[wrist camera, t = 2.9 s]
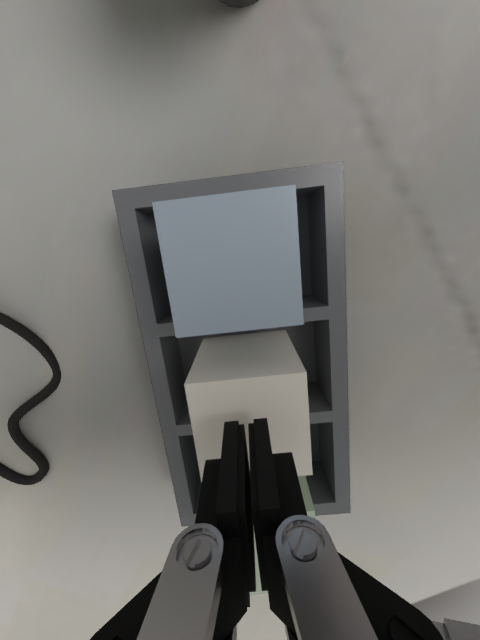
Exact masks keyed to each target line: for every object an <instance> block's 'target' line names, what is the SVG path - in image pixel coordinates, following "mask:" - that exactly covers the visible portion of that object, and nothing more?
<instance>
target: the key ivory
mask: <svg viewBox="0 0 480 640" xmlns="http://www.w3.org/2000/svg"><path fill="white" fill-rule="evenodd" d="M184 387H185V392H186V398H187V404H188V409H189V415H190V420H191V426H192V432H193V437H194V443H195V449H196V454H197V460H198V466H199V471H200V477H201V483H202V477H203V471H204V465H205V461H206V460H210V459H221V451H222V440H223V430H224V422H228V421H238V422H239V424H244V427H245V435H246V443H247V452H248V460H249V468H250V458H249V432H248V423H253V419H260V418H267V422H268V428H269V435H270V442H271V449H272V454H275V453H286V452H292V455H293V459H294V463H295V467H296V471H297V475H298V476H307V475H313V471H312V454H311V437H310V420H309V403H308V386H307V372H306V370H305V368H304V366H303V364H302V362H301V360H300V358H299V356H298V354H297V352H296V350H295V348H294V346H293V344H292V342H291V340H290V338H289V336H288V334H287V332H286V330H277V331H268V332H258V333H249V334H239V335H229V336H220V337H210V338H203V340H202V343H201V345H200V348H199V350H198V352H197V355H196V357H195V359H194V362H193V364H192V367H191V369H190V371H189V374H188V376H187V379H186V381H185V383H184Z"/></svg>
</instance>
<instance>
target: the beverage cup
mask: <svg viewBox="0 0 480 640" xmlns="http://www.w3.org/2000/svg"><path fill="white" fill-rule="evenodd" d="M219 1H221V2H223V3H225V4H227V5H229V6H234V7H244V6H248V5H251V4H254V3H255V2H257V1H258V0H219Z"/></svg>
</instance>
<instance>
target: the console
mask: <svg viewBox="0 0 480 640" xmlns="http://www.w3.org/2000/svg"><path fill="white" fill-rule="evenodd" d="M288 185H296V199H297V216H298V233H299V250H300V267H301V284H302V301H303V318H304V325H296V326H286V327H277V328H267V329H258V330H248V331H238V332H229V333H219V334H210V335H200V336H191V337H181V338H176V336H175V330H174V324H173V319H172V313H171V307H170V302H169V296H168V290H167V285H166V279H165V273H164V268H163V262H162V256H161V251H160V245H159V240H158V234H157V228H156V223H155V217H154V211H153V206H152V202H158V201H166V200H174V199H182V198H190V197H198V196H206V195H214V194H223V193H231V192H239V191H247V190H255V189H263V188H271V187H280V186H288ZM112 193H113V198H114V203H115V208H116V213H117V217H118V222H119V227H120V232H121V237H122V242H123V246H124V251H125V256H126V261H127V266H128V271H129V275H130V280H131V285H132V290H133V295H134V299H135V304H136V309H137V314H138V319H139V324H140V328H141V333H142V338H143V343H144V348H145V352H146V357H147V362H148V367H149V372H150V377H151V381H152V386H153V391H154V396H155V401H156V405H157V410H158V415H159V420H160V425H161V430H162V434H163V439H164V444H165V449H166V454H167V458H168V463H169V468H170V473H171V478H172V483H173V487H174V492H175V497H176V502H177V507H178V512H179V516H180V521H181V526H192V525H194V524H195V519H196V513H197V507H198V501H199V495H200V489H201V477H200V471H199V466H198V460H197V454H196V449H195V443H194V437H193V432H192V426H191V420H190V415H189V409H188V404H187V398H186V392H185V387H184V383H185V381H186V379H187V376H188V374H189V371H190V369H191V367H192V364H193V362H194V359H195V357H196V355H197V352H198V350H199V348H200V345H201V343H202V340H203V338H210V337H220V336H229V335H239V334H249V333H258V332H268V331H277V330H286V332H287V334H288V336H289V338H290V340H291V342H292V344H293V346H294V348H295V350H296V352H297V354H298V356H299V358H300V360H301V362H302V364H303V366H304V368H305V370H306V372H307V386H308V403H309V420H310V437H311V454H312V471H313V475H307V476H306V480H307V484H308V487H309V491H310V495H311V498H312V502H313V506H314V510H315V516H316V515H329V514H341V513H350V467H349V416H348V366H347V316H346V266H345V216H344V166H343V162H336V163H328V164H320V165H312V166H304V167H296V168H288V169H280V170H272V171H264V172H256V173H248V174H240V175H232V176H224V177H216V178H208V179H200V180H192V181H184V182H176V183H168V184H160V185H152V186H144V187H136V188H128V189H120V190H112Z"/></svg>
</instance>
